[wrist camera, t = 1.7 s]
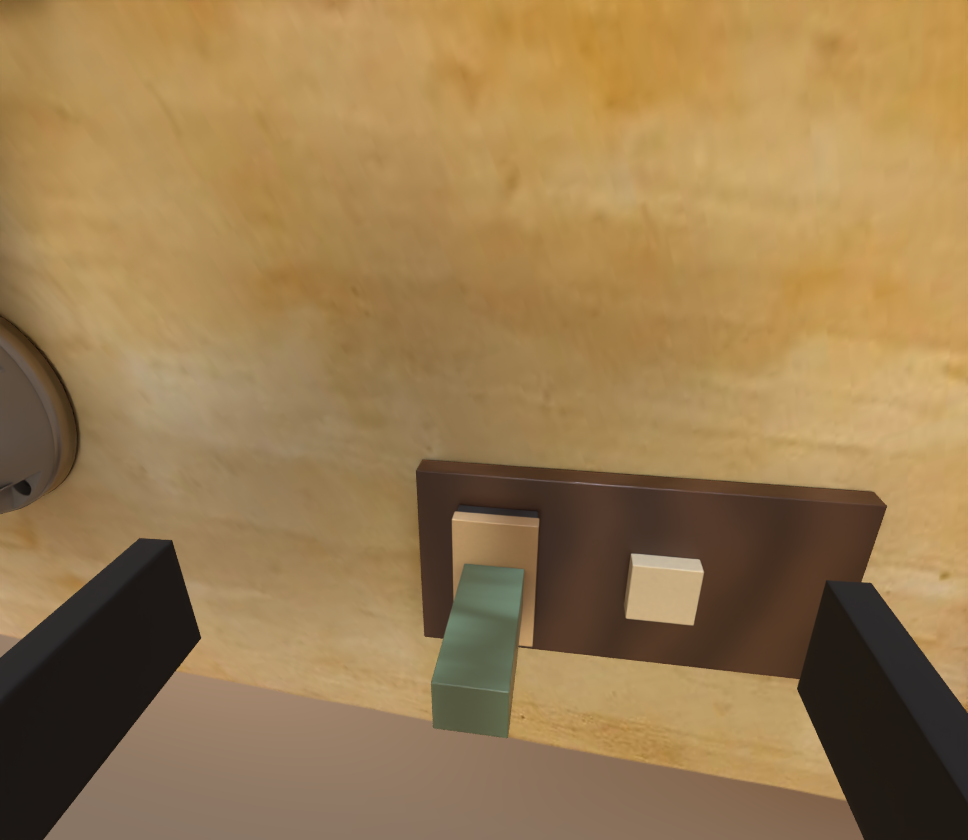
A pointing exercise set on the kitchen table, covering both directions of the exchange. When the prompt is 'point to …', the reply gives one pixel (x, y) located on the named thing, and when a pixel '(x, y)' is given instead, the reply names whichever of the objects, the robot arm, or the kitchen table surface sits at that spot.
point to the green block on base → (486, 619)
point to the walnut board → (661, 532)
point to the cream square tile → (663, 589)
